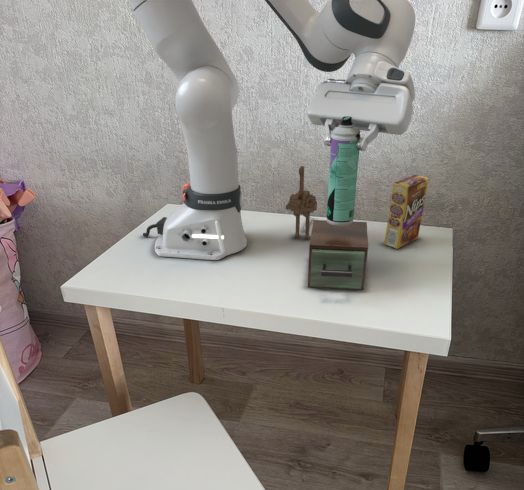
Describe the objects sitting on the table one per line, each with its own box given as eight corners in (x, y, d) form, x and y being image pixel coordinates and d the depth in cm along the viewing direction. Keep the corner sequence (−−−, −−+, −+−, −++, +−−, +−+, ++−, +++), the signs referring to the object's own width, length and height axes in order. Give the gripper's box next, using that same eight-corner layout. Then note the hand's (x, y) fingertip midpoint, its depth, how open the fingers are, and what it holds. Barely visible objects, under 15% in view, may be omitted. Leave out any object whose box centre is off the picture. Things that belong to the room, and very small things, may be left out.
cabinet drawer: (361, 298, 105) (365, 262, 101) (308, 295, 107) (310, 260, 102) (360, 262, 119) (363, 229, 114) (313, 260, 120) (315, 227, 116)
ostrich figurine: (311, 245, 129) (314, 170, 119) (284, 242, 131) (285, 168, 121) (324, 220, 143) (328, 151, 132) (300, 218, 144) (302, 149, 134)
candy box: (398, 250, 126) (407, 186, 118) (383, 244, 129) (391, 182, 120) (419, 239, 131) (429, 177, 123) (404, 234, 134) (413, 173, 125)
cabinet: (363, 290, 110) (368, 247, 105) (307, 287, 111) (309, 244, 106) (362, 262, 121) (366, 221, 116) (311, 259, 123) (313, 219, 117)
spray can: (352, 216, 111) (361, 114, 100) (353, 226, 107) (362, 120, 96) (326, 215, 112) (332, 113, 101) (326, 225, 108) (332, 120, 96)
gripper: (317, 67, 104) (290, 130, 103) (418, 74, 94) (391, 143, 93) (326, 89, 109) (301, 149, 108) (423, 97, 100) (397, 163, 99)
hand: (343, 146), depth 101 cm, fingers closed on spray can, 5 cm apart
